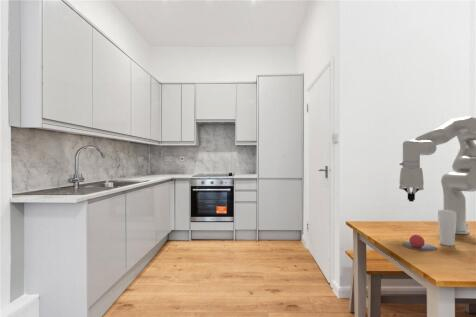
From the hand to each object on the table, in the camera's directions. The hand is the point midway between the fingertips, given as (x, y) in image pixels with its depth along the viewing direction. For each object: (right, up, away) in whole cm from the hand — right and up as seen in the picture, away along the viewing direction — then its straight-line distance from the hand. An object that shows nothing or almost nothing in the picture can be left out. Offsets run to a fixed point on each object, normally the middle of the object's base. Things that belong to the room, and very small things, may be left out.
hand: (411, 201), depth 150 cm
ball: (-11, -14, -23) cm, 29 cm away
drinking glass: (+6, -17, -18) cm, 25 cm away
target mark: (-9, -17, -21) cm, 28 cm away
